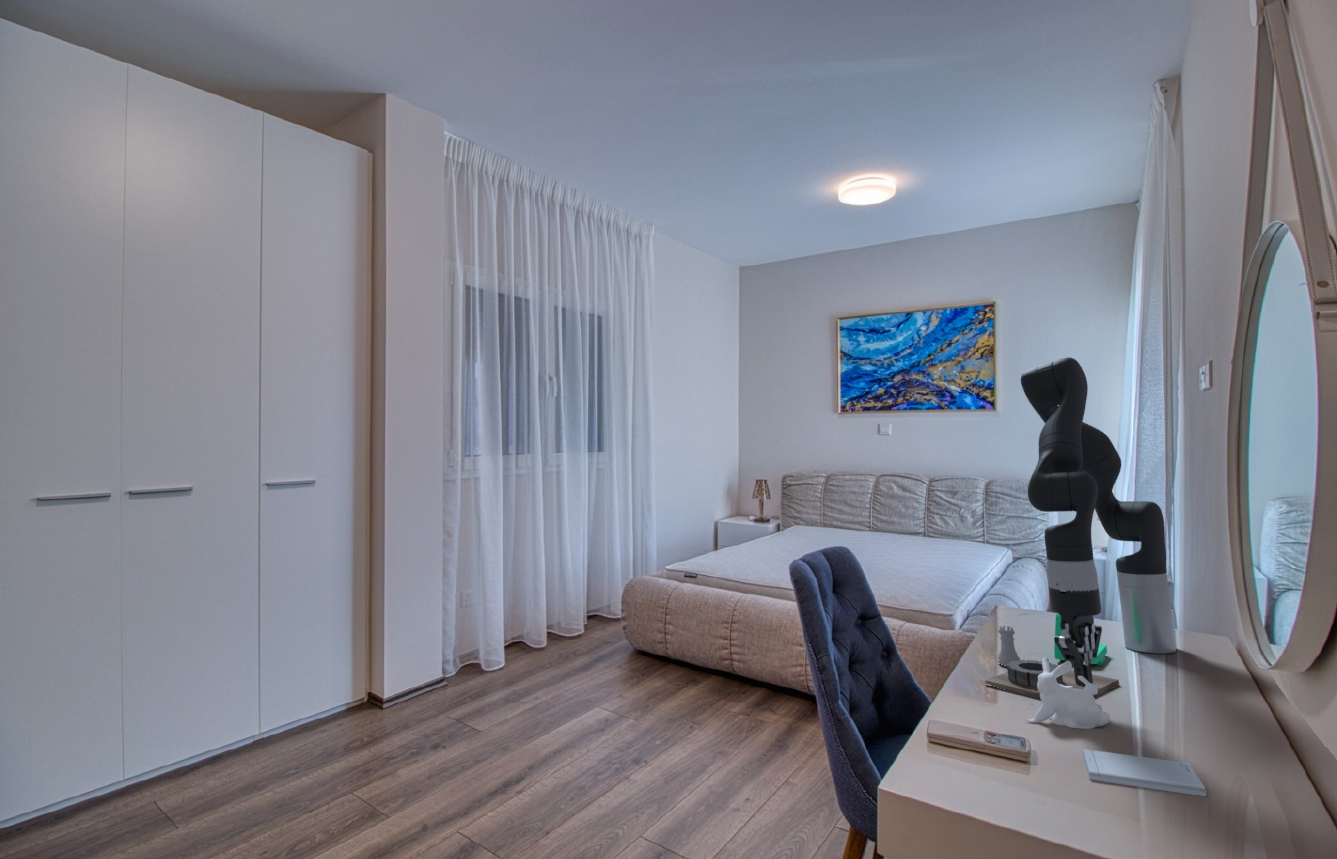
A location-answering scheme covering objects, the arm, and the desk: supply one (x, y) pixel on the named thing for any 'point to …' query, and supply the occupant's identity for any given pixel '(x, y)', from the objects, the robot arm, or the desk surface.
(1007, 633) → the rook chess piece
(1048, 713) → the rabbit figurine
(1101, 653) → the camera mount
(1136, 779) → the hard drive
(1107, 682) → the socket board
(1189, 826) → the desk surface
